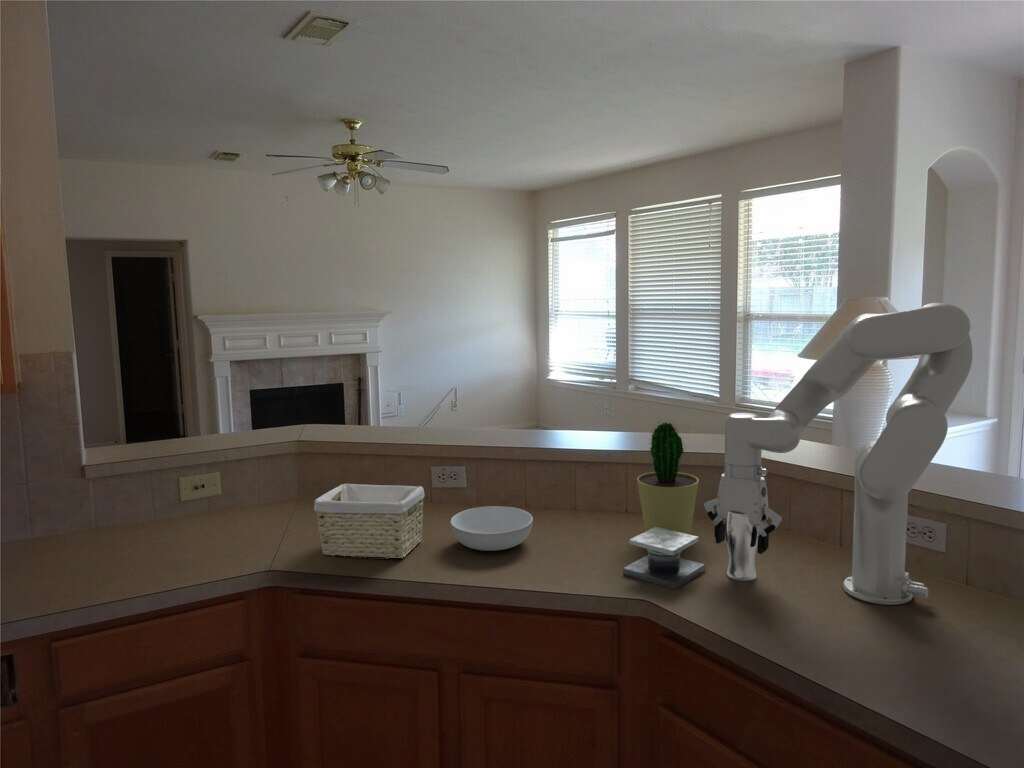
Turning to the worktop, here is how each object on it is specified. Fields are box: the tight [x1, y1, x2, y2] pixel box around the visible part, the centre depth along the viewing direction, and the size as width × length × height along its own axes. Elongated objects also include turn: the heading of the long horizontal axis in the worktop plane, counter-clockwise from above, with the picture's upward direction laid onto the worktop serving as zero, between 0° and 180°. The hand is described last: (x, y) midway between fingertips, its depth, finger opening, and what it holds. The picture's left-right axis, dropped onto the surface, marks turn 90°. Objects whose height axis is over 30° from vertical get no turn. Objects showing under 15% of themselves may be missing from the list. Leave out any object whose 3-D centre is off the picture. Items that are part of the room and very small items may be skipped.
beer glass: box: [725, 511, 760, 582], centre depth 154 cm, size 7×7×15 cm
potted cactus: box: [636, 421, 700, 535], centre depth 181 cm, size 15×15×30 cm
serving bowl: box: [450, 505, 534, 552], centre depth 179 cm, size 21×21×7 cm
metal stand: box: [622, 527, 706, 591], centre depth 158 cm, size 13×13×8 cm
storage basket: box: [313, 483, 426, 559], centre depth 178 cm, size 24×16×15 cm
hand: (740, 546), depth 155 cm, fingers open, 9 cm apart
